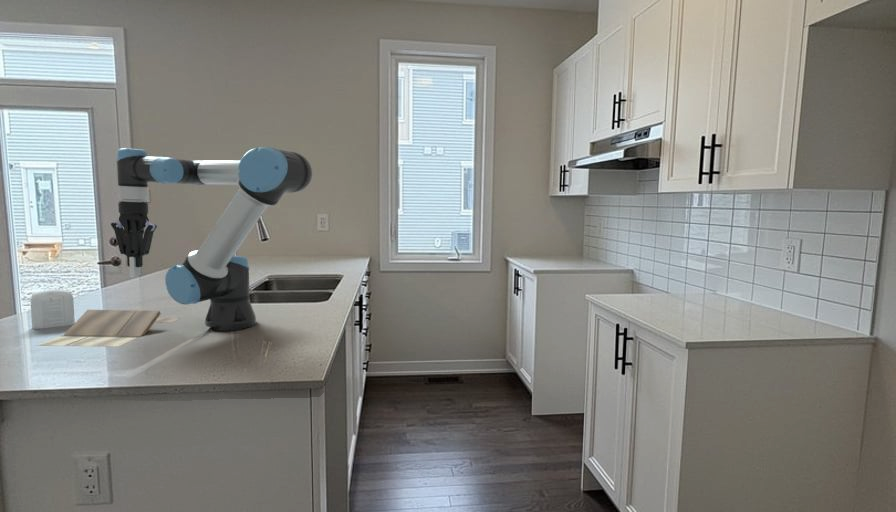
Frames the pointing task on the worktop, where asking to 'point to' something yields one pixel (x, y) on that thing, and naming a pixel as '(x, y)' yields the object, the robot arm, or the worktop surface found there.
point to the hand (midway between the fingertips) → (135, 277)
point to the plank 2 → (166, 320)
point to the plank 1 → (114, 323)
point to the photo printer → (52, 309)
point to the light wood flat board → (89, 341)
